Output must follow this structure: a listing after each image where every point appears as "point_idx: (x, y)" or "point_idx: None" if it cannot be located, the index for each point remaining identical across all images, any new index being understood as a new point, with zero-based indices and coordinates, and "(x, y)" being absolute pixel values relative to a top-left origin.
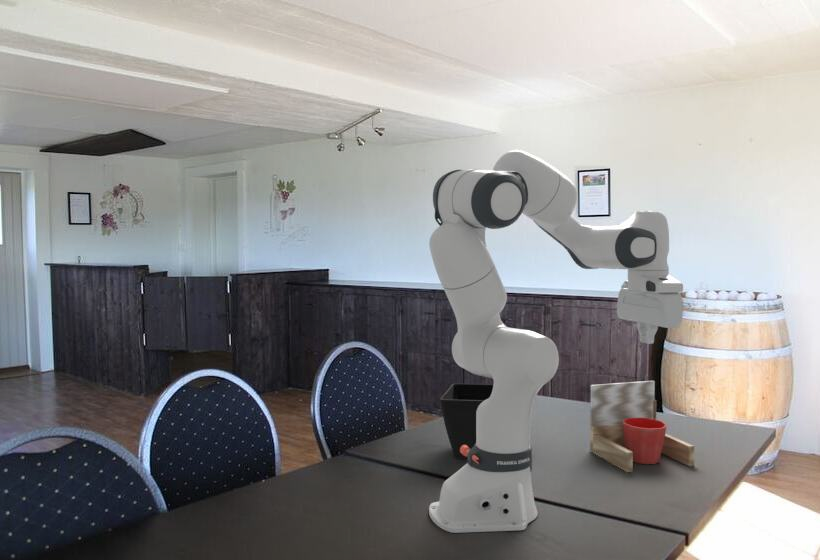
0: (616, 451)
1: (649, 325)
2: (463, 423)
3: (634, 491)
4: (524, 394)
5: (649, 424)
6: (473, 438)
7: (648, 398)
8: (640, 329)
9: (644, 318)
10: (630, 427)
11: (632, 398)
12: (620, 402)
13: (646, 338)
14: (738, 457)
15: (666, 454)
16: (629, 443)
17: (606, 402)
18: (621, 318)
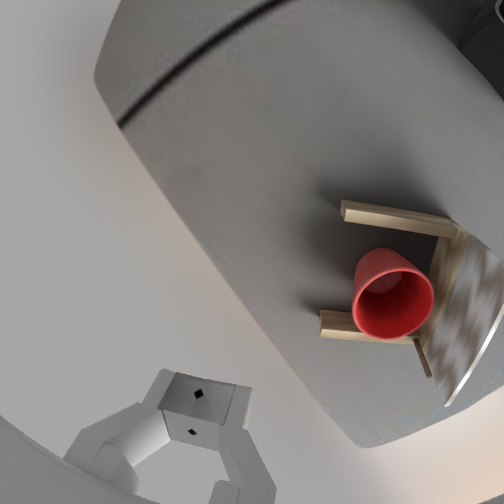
0: (381, 212)
1: (70, 454)
2: None
3: (261, 150)
4: None
5: (404, 325)
6: (484, 2)
7: (441, 372)
8: (231, 465)
9: (53, 500)
10: (393, 266)
11: (457, 345)
12: (466, 317)
13: (157, 390)
14: (315, 381)
15: None
16: (391, 255)
17: (480, 288)
18: (492, 500)
